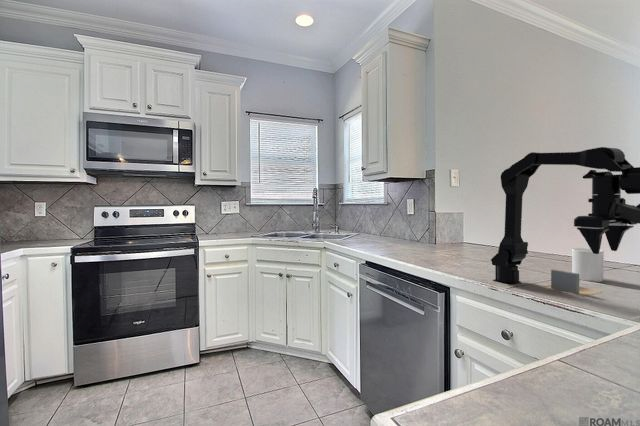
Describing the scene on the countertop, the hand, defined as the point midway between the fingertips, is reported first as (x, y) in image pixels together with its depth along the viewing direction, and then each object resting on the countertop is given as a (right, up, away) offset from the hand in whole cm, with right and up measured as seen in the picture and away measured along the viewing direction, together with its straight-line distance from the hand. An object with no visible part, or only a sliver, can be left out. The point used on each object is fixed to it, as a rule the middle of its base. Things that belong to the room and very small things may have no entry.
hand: (605, 252), depth 86 cm
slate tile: (-1, -14, +13) cm, 19 cm away
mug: (+19, -13, +29) cm, 37 cm away
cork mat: (+2, -14, +15) cm, 20 cm away
